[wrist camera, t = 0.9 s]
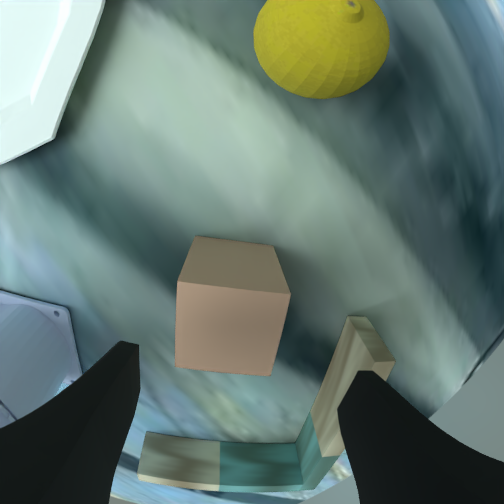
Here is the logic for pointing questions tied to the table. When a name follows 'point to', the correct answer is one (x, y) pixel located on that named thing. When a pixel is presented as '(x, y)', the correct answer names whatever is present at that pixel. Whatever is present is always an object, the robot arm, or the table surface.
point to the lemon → (321, 45)
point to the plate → (40, 66)
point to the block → (230, 307)
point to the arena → (273, 455)
